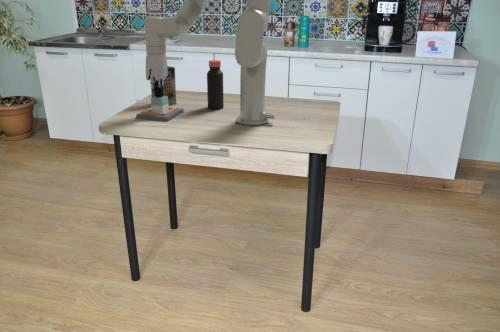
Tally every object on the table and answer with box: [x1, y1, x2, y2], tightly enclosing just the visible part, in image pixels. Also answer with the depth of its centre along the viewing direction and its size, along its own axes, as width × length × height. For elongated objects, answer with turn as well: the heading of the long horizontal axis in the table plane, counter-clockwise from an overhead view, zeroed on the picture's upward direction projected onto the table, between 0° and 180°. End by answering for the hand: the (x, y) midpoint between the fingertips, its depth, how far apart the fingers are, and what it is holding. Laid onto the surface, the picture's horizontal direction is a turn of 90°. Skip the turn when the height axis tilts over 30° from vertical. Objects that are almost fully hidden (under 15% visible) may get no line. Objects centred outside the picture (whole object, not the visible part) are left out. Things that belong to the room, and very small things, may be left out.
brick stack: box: [150, 96, 170, 113], centre depth 190 cm, size 5×5×6 cm
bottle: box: [206, 59, 225, 111], centre depth 199 cm, size 7×7×20 cm
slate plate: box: [135, 106, 185, 122], centre depth 191 cm, size 14×14×2 cm
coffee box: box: [150, 65, 177, 106], centre depth 205 cm, size 9×6×16 cm
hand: (159, 96), depth 189 cm, fingers closed
